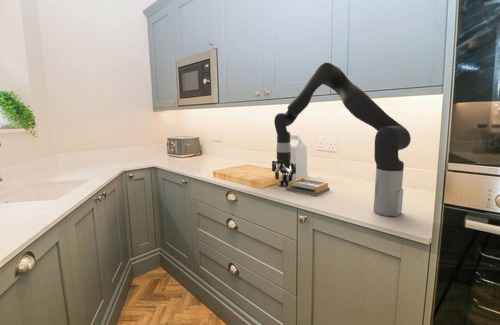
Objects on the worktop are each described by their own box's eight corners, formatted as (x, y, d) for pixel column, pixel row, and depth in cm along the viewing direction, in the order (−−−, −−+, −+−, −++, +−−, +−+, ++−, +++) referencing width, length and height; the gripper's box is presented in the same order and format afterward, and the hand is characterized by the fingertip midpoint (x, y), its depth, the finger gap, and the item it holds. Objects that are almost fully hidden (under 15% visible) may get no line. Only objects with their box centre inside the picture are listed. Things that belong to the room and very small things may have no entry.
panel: (329, 189, 139) (329, 182, 138) (316, 196, 129) (316, 188, 128) (300, 184, 150) (300, 177, 150) (286, 190, 140) (286, 182, 139)
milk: (280, 176, 170) (280, 134, 166) (292, 173, 178) (292, 133, 173) (295, 180, 161) (296, 135, 157) (307, 176, 169) (308, 134, 164)
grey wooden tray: (324, 185, 139) (324, 181, 138) (314, 189, 131) (314, 185, 131) (302, 181, 147) (302, 177, 147) (291, 185, 140) (291, 181, 139)
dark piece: (276, 186, 148) (276, 168, 146) (278, 183, 153) (278, 166, 151) (288, 187, 146) (289, 168, 144) (290, 184, 151) (290, 166, 149)
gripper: (298, 151, 144) (298, 181, 147) (277, 149, 154) (277, 177, 156) (290, 152, 139) (290, 183, 142) (268, 150, 148) (268, 179, 151)
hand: (283, 180), depth 149 cm, fingers open, 8 cm apart
